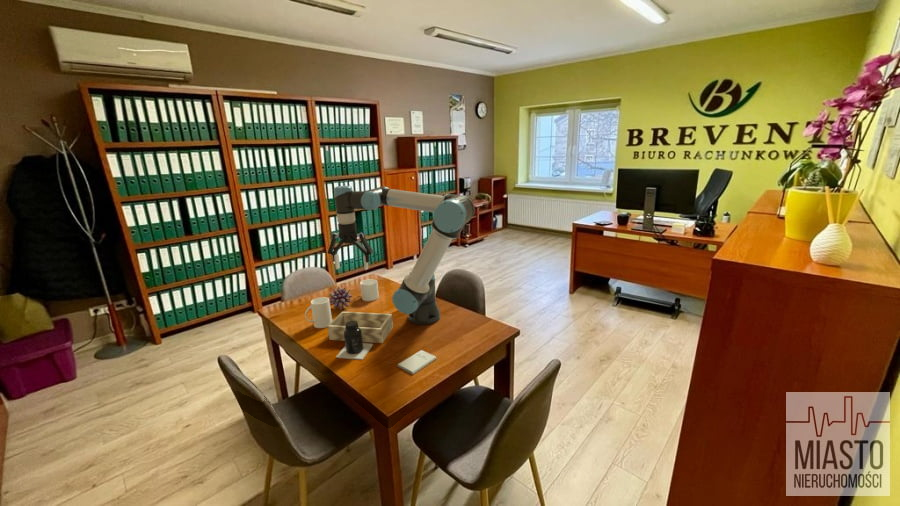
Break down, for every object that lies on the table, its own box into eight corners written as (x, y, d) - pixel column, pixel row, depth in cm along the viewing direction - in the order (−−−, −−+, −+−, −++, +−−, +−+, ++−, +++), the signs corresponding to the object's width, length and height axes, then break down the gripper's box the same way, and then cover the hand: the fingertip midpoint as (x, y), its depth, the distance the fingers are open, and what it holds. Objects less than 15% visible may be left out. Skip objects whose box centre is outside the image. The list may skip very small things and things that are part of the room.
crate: (393, 326, 163) (391, 314, 161) (382, 343, 150) (381, 329, 148) (343, 324, 167) (342, 311, 166) (329, 339, 154) (327, 326, 152)
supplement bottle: (365, 345, 148) (362, 318, 145) (361, 354, 142) (358, 327, 138) (348, 345, 148) (345, 319, 145) (344, 355, 142) (340, 327, 138)
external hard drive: (397, 367, 134) (421, 352, 143) (413, 375, 129) (436, 360, 138) (397, 363, 134) (421, 349, 143) (412, 372, 129) (436, 356, 138)
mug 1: (309, 332, 161) (305, 308, 157) (304, 325, 167) (300, 302, 164) (335, 324, 168) (332, 300, 164) (329, 317, 174) (325, 295, 171)
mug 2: (382, 298, 195) (380, 282, 192) (367, 302, 189) (365, 286, 187) (371, 291, 204) (369, 276, 201) (356, 296, 198) (354, 280, 196)
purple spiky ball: (329, 305, 188) (326, 284, 184) (353, 302, 191) (350, 281, 187) (328, 314, 177) (325, 292, 174) (353, 311, 180) (351, 289, 177)
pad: (373, 344, 149) (373, 343, 149) (362, 359, 139) (362, 358, 139) (348, 342, 151) (348, 342, 151) (336, 357, 141) (336, 356, 141)
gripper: (377, 220, 156) (381, 266, 163) (324, 220, 160) (330, 265, 166) (371, 224, 149) (375, 272, 155) (315, 224, 153) (322, 270, 159)
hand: (352, 268), depth 161 cm, fingers open, 13 cm apart
